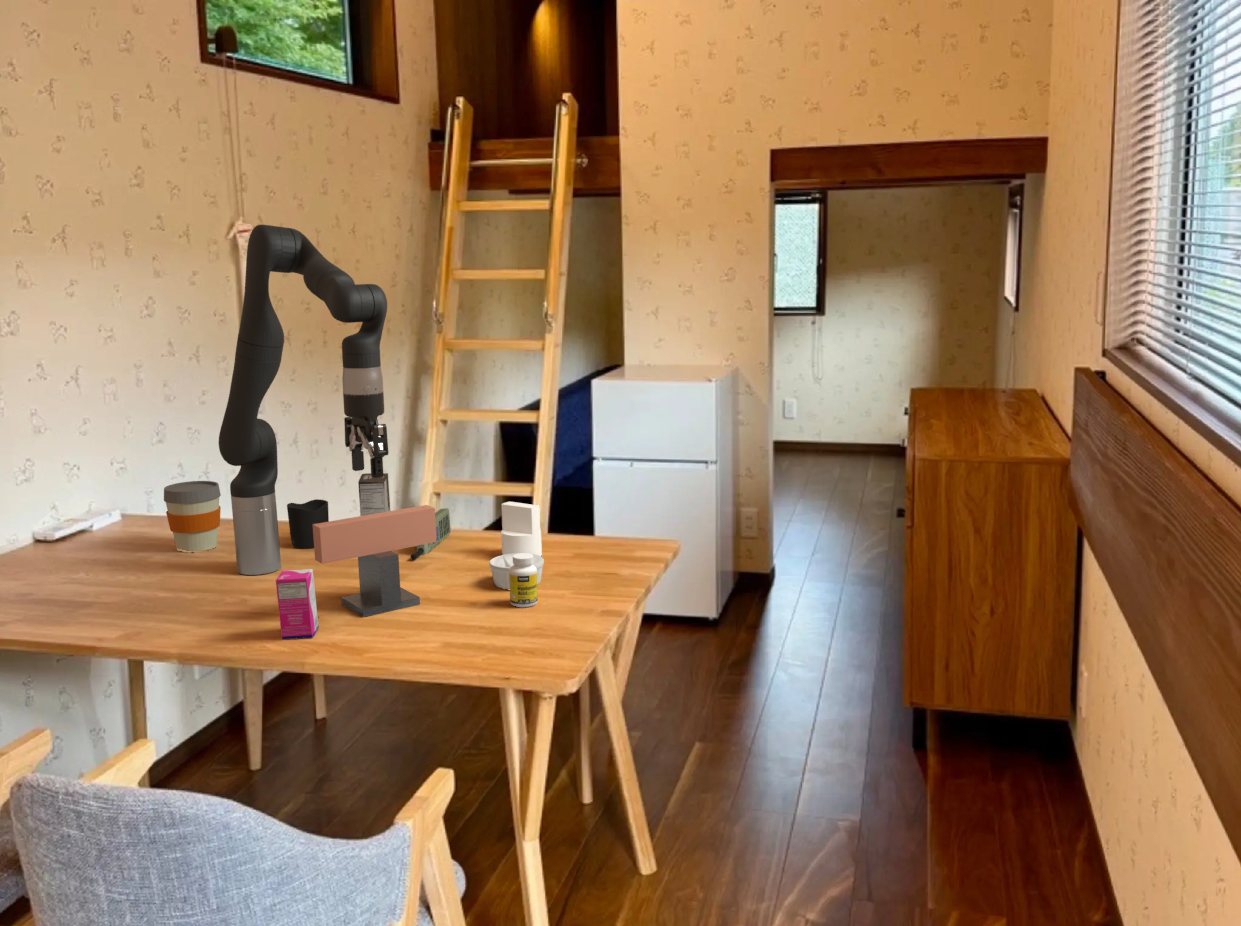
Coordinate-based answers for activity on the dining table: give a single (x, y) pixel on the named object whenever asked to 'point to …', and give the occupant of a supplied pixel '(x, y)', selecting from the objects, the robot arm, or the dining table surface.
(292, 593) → the supplement box
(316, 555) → the batten
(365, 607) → the stand
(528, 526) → the cylinder with rectangular tab
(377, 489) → the coffee box
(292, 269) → the robot arm
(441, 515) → the handheld radio
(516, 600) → the supplement bottle
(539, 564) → the ramekin
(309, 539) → the pen holder
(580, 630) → the dining table surface
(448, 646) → the dining table surface
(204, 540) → the reusable coffee cup
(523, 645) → the dining table surface
